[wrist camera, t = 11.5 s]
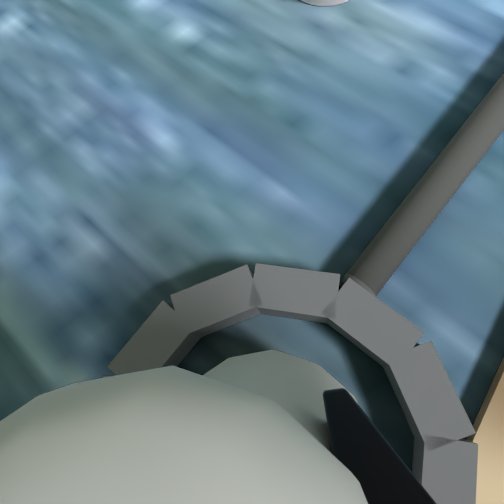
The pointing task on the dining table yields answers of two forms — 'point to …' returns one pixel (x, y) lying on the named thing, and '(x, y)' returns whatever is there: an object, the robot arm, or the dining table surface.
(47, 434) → the salt shaker
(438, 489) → the grey ring with rod
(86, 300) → the dining table surface
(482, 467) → the coaster
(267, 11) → the dining table surface
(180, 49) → the dining table surface
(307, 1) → the smoothie
